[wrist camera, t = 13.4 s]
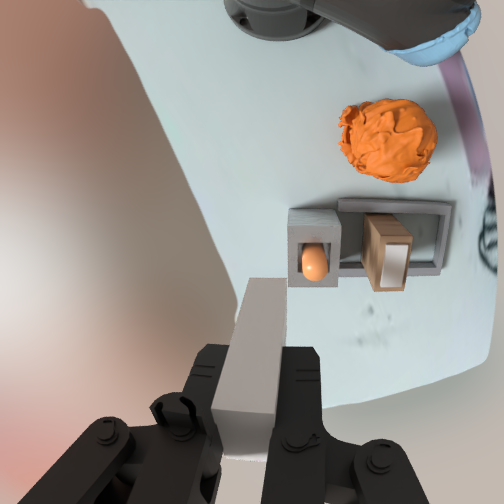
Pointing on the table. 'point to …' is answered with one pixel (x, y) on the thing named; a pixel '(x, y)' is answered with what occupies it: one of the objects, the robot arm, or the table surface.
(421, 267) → the guide channel
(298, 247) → the grey block with hole
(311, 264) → the orange rounded peg
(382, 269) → the carriage
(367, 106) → the orange figurine
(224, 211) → the table surface
